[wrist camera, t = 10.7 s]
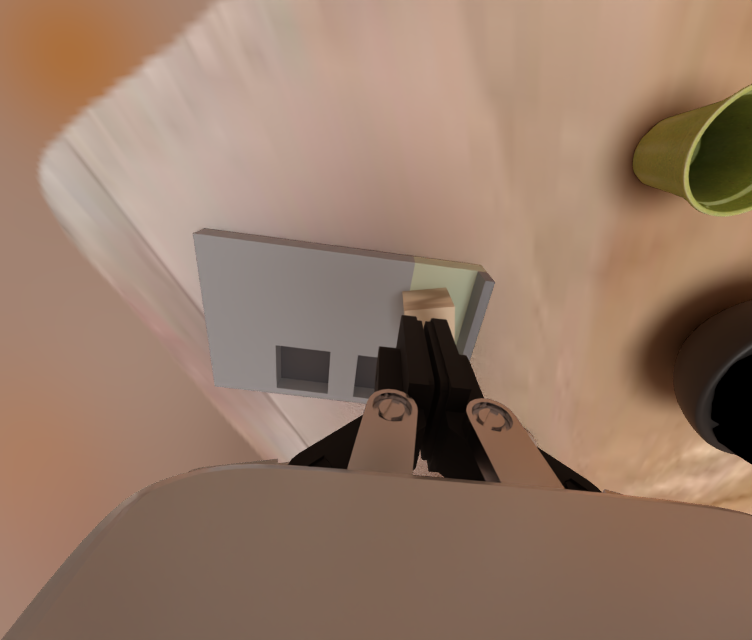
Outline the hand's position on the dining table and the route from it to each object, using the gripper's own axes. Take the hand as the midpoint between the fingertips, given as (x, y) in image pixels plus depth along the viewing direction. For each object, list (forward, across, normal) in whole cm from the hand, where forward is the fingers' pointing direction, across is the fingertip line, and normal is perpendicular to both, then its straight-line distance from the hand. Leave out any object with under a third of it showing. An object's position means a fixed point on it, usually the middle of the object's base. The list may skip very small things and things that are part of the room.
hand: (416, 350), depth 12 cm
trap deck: (+26, +6, +14) cm, 30 cm away
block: (+24, -4, +9) cm, 26 cm away
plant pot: (+26, -25, -9) cm, 38 cm away
